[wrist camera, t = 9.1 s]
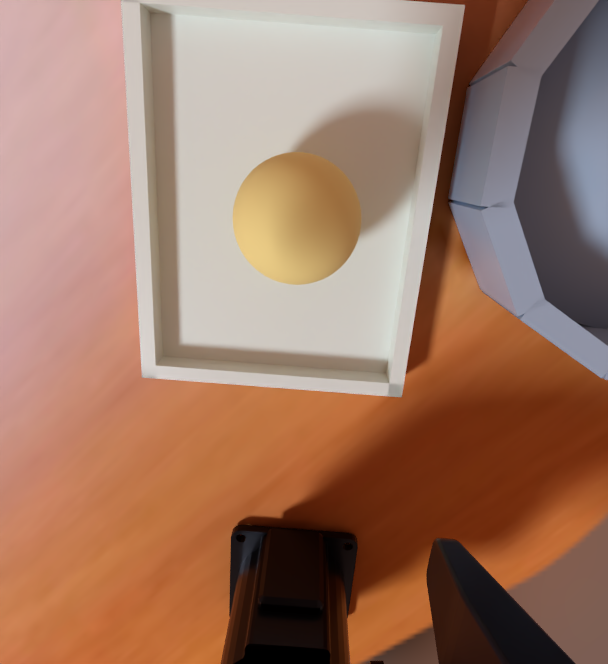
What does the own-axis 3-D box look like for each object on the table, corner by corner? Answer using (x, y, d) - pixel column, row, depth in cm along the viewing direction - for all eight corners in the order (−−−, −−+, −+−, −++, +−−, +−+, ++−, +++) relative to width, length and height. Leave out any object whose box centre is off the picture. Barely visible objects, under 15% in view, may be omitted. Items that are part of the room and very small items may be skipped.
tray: (395, 380, 21) (401, 397, 19) (154, 362, 21) (141, 377, 19) (451, 20, 16) (465, 5, 14) (138, -4, 16) (119, -22, 14)
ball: (330, 270, 19) (374, 299, 15) (224, 269, 18) (241, 300, 14) (340, 157, 17) (392, 157, 14) (225, 148, 16) (245, 144, 12)
